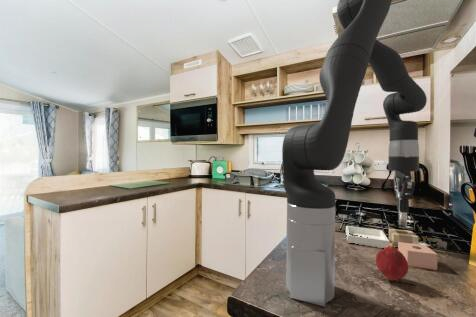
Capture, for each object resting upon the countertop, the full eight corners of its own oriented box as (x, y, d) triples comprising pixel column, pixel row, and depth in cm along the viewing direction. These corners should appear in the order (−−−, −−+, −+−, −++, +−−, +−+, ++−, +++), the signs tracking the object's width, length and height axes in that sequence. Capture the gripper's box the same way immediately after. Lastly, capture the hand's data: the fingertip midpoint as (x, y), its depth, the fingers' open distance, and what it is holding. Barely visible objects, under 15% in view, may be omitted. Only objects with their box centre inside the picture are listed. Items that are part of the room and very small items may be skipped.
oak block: (418, 251, 63) (418, 237, 63) (393, 247, 65) (393, 234, 65) (411, 243, 68) (411, 231, 68) (388, 240, 71) (388, 228, 71)
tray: (389, 249, 64) (389, 241, 64) (347, 243, 68) (347, 235, 68) (381, 237, 74) (381, 230, 74) (345, 232, 78) (345, 225, 78)
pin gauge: (407, 226, 65) (407, 193, 66) (399, 225, 66) (399, 192, 66) (405, 224, 67) (406, 192, 67) (397, 223, 68) (398, 191, 68)
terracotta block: (437, 270, 52) (437, 253, 52) (407, 266, 54) (407, 250, 54) (424, 259, 58) (424, 244, 58) (398, 256, 60) (398, 241, 60)
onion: (414, 290, 44) (414, 250, 44) (382, 286, 45) (383, 247, 45) (399, 275, 49) (399, 240, 49) (371, 272, 51) (371, 238, 51)
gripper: (384, 155, 75) (383, 206, 75) (394, 155, 62) (393, 215, 62) (410, 155, 72) (410, 208, 72) (427, 155, 59) (427, 218, 59)
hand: (402, 211), depth 67 cm, fingers closed on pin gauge, 2 cm apart
